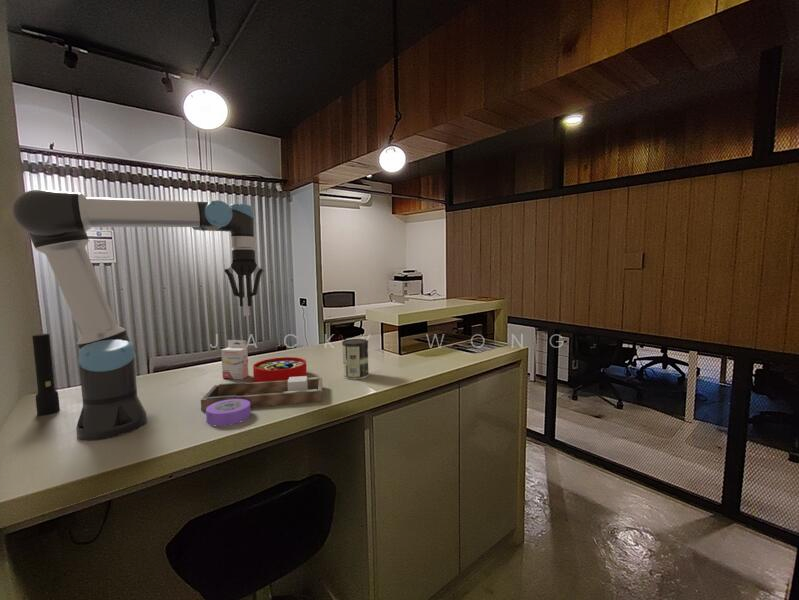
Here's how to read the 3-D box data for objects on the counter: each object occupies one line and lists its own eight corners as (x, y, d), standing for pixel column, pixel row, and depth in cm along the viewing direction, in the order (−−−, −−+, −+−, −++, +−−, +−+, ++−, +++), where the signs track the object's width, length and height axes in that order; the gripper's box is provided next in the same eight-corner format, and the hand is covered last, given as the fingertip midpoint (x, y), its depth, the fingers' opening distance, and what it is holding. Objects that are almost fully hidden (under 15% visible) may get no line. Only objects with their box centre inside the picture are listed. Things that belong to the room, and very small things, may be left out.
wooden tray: (201, 411, 111) (200, 399, 111) (215, 395, 125) (214, 384, 125) (322, 401, 118) (321, 390, 118) (322, 387, 132) (322, 376, 132)
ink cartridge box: (222, 379, 143) (219, 342, 142) (229, 375, 148) (227, 339, 147) (242, 379, 142) (240, 342, 141) (249, 375, 147) (247, 339, 146)
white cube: (307, 392, 127) (307, 375, 126) (306, 398, 121) (306, 381, 121) (289, 394, 126) (289, 377, 125) (288, 400, 120) (287, 382, 119)
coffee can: (364, 371, 153) (364, 337, 151) (372, 377, 143) (371, 342, 142) (340, 373, 149) (339, 339, 147) (346, 381, 139) (345, 344, 138)
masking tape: (238, 407, 114) (238, 395, 114) (258, 416, 107) (257, 404, 107) (199, 419, 105) (198, 406, 105) (218, 430, 98) (217, 417, 98)
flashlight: (34, 413, 111) (40, 416, 108) (26, 335, 108) (32, 336, 106) (55, 407, 115) (62, 410, 112) (48, 332, 113) (55, 333, 110)
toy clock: (242, 365, 142) (284, 355, 158) (243, 380, 143) (285, 368, 159) (274, 373, 131) (316, 361, 147) (275, 389, 131) (317, 375, 148)
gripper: (264, 249, 134) (267, 313, 136) (226, 249, 131) (229, 314, 133) (261, 248, 126) (263, 316, 129) (220, 248, 124) (224, 317, 126)
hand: (246, 315), depth 131 cm, fingers closed
